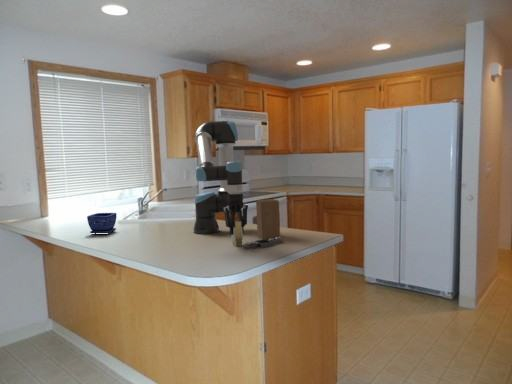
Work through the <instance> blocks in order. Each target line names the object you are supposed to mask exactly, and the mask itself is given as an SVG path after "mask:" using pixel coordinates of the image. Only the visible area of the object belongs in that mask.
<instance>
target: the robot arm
mask: <svg viewBox="0 0 512 384" xmlns="http://www.w3.org/2000/svg"><path fill="white" fill-rule="evenodd" d="M238 137H239V135H238V129H237V125H236V123H235V122H234V121H233V120H231V121H229V120H220V121H217V120H216V121H211V120H210V121H206V122H204V123H202V124H201V125H200V126H198V127H197V129H196V130H195V134H194V141H195V144H196V146H197V147H196V148H197V157H198V158H197V159H198V166H195V178H196V179H195V180H196V182H213V181H214V182H215V181H217V182H218V181H220V182H219V185H220V186H219V187H220V188H218V190H217V193H215V191H205V192H201V193H198V194H195V198H194V204H195V205H194V207H195V221H194V227H193V233H194V234H198V235H199V234H200V235H208V234H209V235H210V234H215V233H218V232H219V231H220V227H219V224H218V221H217V217H216V214H224V221H225V227H227V228H229V235H231V236H230V237H231V241H232V242H233V241H236V236H235V228H234V221H236V220H235V218H236V217H235V216H236V214H237V219H238V220H237V221H241V230H242V241H243V240H244V236H243V233H244V232H245V231H244V229H245V226H246V225H247V224H248V209H249V205H247V204H244V194H243V191H244V190H243V165H242V162H241V161H234V147H235V145H236V142H237V141H238V139H239V138H238ZM212 142H214V143H215V146H216V147H217V148H218V165H214V159H213V151H212Z"/></svg>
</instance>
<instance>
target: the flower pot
mask: <svg viewBox="0 0 512 384" xmlns="http://www.w3.org/2000/svg"><path fill="white" fill-rule="evenodd" d="M86 218H87V223H88V226H89V228H90V230H91V231H90V232H89V233H90V234H91V233H95V234H96V233H109V234H111V233H110V232H112V231H114V232H115V231H116V230H117V227H115V226H116V221H117V213H116V212H97V213H93V214H90V215H87V216H86ZM112 233H113V232H112Z"/></svg>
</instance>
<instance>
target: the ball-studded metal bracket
mask: <svg viewBox="0 0 512 384" xmlns="http://www.w3.org/2000/svg"><path fill="white" fill-rule="evenodd" d="M283 243H284V238H281V236H280V237H275V238H269V239H262V238H261V239H258V240H252V241H249V242H245V243H243V246H244V249H246V250H253V249H258V248H260V249H263V248H268V247H273V246H274V245H277V244H283Z"/></svg>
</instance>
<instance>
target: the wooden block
mask: <svg viewBox="0 0 512 384" xmlns="http://www.w3.org/2000/svg"><path fill="white" fill-rule="evenodd" d="M255 203H256V204H255V205H256V206H255V207H256V228H257V229H256V233H257V237H258V238H260V239H261V240H262V239H266V240H267V239H269V238H275V237H281V227H280V226H281V225H280V224H281V223H280V221H281V219H280V201H279V200H278V199H274V198H266V199H265V198H264V199H256V200H255Z"/></svg>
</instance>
